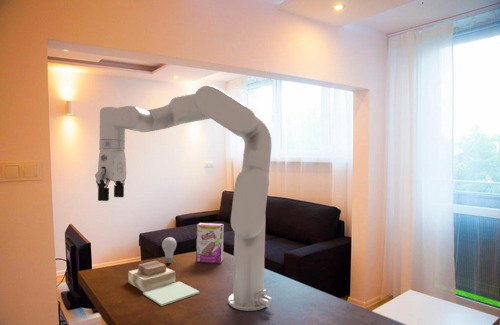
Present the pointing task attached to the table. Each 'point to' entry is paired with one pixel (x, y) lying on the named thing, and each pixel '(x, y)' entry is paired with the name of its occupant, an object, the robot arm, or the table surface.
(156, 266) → the walnut block
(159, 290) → the sage mat
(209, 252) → the candy bar box
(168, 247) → the lightbulb
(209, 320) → the table surface
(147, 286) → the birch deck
